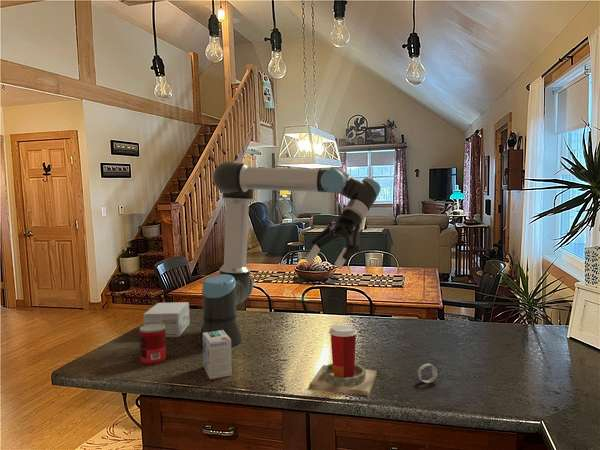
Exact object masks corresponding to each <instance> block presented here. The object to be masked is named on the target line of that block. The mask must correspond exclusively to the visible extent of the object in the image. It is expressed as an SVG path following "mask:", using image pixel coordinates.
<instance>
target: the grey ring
mask: <svg viewBox="0 0 600 450" xmlns="http://www.w3.org/2000/svg"><path fill="white" fill-rule="evenodd" d="M427 367H431V372H432V375H431V376H432V377H431V378H429V379H427V380H425V379H422V375H423V374H422V370H424V369H425V368H427ZM417 369H418V370H417V377H418V379H419V380H420V381H421V382H423V383H425V384H431V383H433V382H434V381H435V380H436V378H438V370H437V368H436V367H435V366H434V365H433V364H431V363H424V364H422V365H421V366H419V368H417Z"/></svg>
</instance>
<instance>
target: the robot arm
mask: <svg viewBox="0 0 600 450" xmlns="http://www.w3.org/2000/svg"><path fill="white" fill-rule="evenodd" d="M212 179H213V184H214V186H215V187H216V189H217V190H218V191H220V192H221V193H222V200H224V202H225V227H224V248H223V249H224V251H223V252H224V253H223V254H224V255H223V256H224V257H223V265H222V266H221V267H220V268H219V274H214V275H210V276H208V277H206V278H204V279H203V281H202V288H201V294H202V295H201V296H202V297H201V298H202V324H201V325H202V326H201V329H200V332H199V335H198V344H199V346H200V347H202V348H203V334H202V333H206V332H213V331H219V330H223V331H224V332H225V333H226V334H227V335H228V336H229V338H230V339H231V348H232V347H235V346H237V345H240V343H241V342H242V339H243V338H242V333H241V328H240V326H239V324H238V320H237V306H238V305H239V304H241V303H243V302H244V301H246V300H247V299H249V297H250V296H251V294H252V292H253V291H254V282H253V279H252V277H251V269H250V268H249V266H248V265H247V256H248V252H247V251H248V235H249V234H248V232H249V229H248V228H249V209H250V207H249V206H250V203H251V202H252V201H253V200H254V191H255V190H263V191H264V190H266V191H288V192H290V191H291V192H311V193H312V192H314V193H329V194H339V195H341V196H343V197H345V198H347V199H349V201H348V202H347V203H346V205H345V207H343V210H342V212H341V213H340V214H339V216H338V218H337V219H338V220H337V223H336V224H335V225H334V224H333V223H332V222H330V223H329V224H327V227H326V228H325V229H324V230H322V231H321V232H320V233H318V235H316V236H315V237H314V238H313V239H312V240H310V243H311V244H312V247H311V248H310V250H309V253H308V254H307V256H306V257H305V258H304V260H305V262H307V264H308V265H310V266H311V265H312V263H313V262H314V260H315V259H316V257H317V255H318V254H319V253H320V251H321V249H320V248H322V247H324V246H326V245H327V244H329V243H330V242H331V241H333V240H336V239H345V243H346V245H345V246H346V247H343V249H342V251H341V252H340V254H339V256H338V257H337V259H336V261H335V262H334V265H335V267H337V268H338V270H341V269H342V267H343V265H344V264H345V263H346V261H347V260H349V257H350V256H351V255H352V254H353V253H354V252H355V253H357V252H360V248H361V237H362V233H363V228H362V227H361V223H362V222H363V221H364V219H365V217H366V216H367V214H368V213H369V211H370V209H371V208H372V206H373V205H374V203H375V201H376V200H377V197H378V196H379V194H380V192H381V185H380V184H379V182H378V181H377V180H375V179H373V178H369V177H365V178H363V179H362V180H360V179H358V178H356V177H354V176H352V175H351V174H349V173H347V172H345V171H344V170H341V169H340V168H337V167H335V166H331V167H330V168H328V169H319V168H288V167H287V168H286V167H258V166H257V167H256V166H253V167H252V166H250V165H249V164H247V163H244V162H234V161H224V162H221V163H220V164H218V165H217V166H216V168H215V169H214V171H213V175H212ZM352 234H353V237H352Z"/></svg>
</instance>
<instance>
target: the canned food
mask: <svg viewBox="0 0 600 450" xmlns="http://www.w3.org/2000/svg"><path fill="white" fill-rule="evenodd" d="M139 351H140V361H141V364H143V365H147V366H150V365H151V366H152V365H153V366H154V365H157V364H161V363H163V362H164V361H166V360H167V337H166V330H165V325H164V324H148V325H144V324H143V326H141V327H139Z"/></svg>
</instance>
